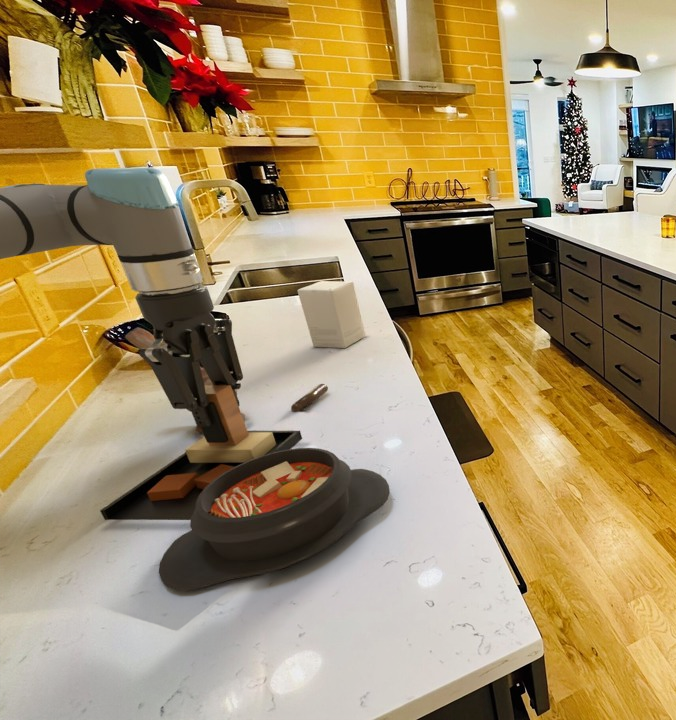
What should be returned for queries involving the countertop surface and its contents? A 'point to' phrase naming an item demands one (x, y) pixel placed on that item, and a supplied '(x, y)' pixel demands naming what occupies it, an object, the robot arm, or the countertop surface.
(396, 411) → the countertop surface
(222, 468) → the plate
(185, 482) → the plate
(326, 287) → the rectangular carton
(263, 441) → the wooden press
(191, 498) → the griddle pan
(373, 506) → the casserole
